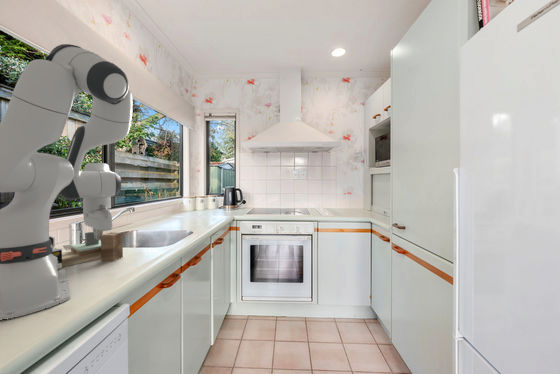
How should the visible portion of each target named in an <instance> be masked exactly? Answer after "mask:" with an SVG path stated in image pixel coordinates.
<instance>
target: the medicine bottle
mask: <svg viewBox="0 0 560 374" xmlns="http://www.w3.org/2000/svg"><path fill="white" fill-rule="evenodd" d="M55 238H56V237H55V236H52V235H49V239H51V243H52V253H51V254H52V255H54V256H56V257H57V264H58V263H61V264H62V253H63V250H62V248H55V247H56V244H55V243H56V241H55V240H56V239H55ZM58 269H60V268H58Z"/></svg>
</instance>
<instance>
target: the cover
mask: <svg viewBox="0 0 560 374" xmlns="http://www.w3.org/2000/svg"><path fill="white" fill-rule="evenodd" d="M71 248H73V249H75V250H77V251H79V252H82V251H87V250H92V249H98V248H101V240H96V239H94V233H93V231H90V232H84V243H76V244H71V245H70V249H71Z"/></svg>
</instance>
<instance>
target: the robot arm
mask: <svg viewBox="0 0 560 374" xmlns="http://www.w3.org/2000/svg"><path fill="white" fill-rule="evenodd" d="M82 92H83V93H85V94H88V95H90V96H91V97H92V106H91V112H90V113H91V114H90V117H89V119H88V120H87V122H86V123H85V124H84V125H81V126H78V127H77V128H76V130H75V132H74V133H73V135H72V138H71V141H70V143H69V147H68V150H67V152H66V157H62V156H58V155H55V154H52V153H51V154H50V153H47V152H46V153H45V152H38V151H39V150H40V149H42V148H43V147H46V146H48V145H52V144H53V143H56V142H57V141H59V140H60V138H61V137H62V135H63V132H64V129H65V126H66V124H67V121H68V119H69V115H70V113H71V110H72V106H73V103H74V100H75V98H76V97H77V96H78V95H79V94H80V93H82ZM132 116H133V95H132V92H131V91H130V89H129V80H128V77H127V75H126V73H125V72H124V71H123V70H122V68H120V67H119V66H117V65H116V64H115V63H113V62H110V61H109V60H107V59H105V58H103V57H102V56H100V55H99V54H97V53H95V52H93V51H91V50H87V49H85V48H82V47H81V46H78V45H75V44H70V43H62V44H59V45H57V46H55V47H54V48H53V49H52V50H51V51H50V52H49V53H48V55H47V56H45V58H44V59H33V60H31V61H30V62H28V64H27V65H26V66H25V68H24V69H23V71H22V73H21V74H20V76H19V78H18V79H17V82H16V84H15V87H14V89H13V91H12V95H11V97H10V100H9V103H8V105H7V109H6V111H5V113H4V115H3V118H2V119H1V121H0V193H14V195H13V196H14V197H13V198H12V200H11V201H10V202H9V204H8V205H6V206H4V207H2V208H1V209H0V320H1V319H7V318H11V319H15V318H19V317H22V316H26V315H30V314H33V313H37V312H39V311H43V310H45V308H46V309H49V308H51V307H54V306H56V305H57V306H58V305H59V303H60V304H63V303H64V302H66V301H68V300H69V299H71V293H70V287H69V282H68V279H66V278H67V274H66V273H67V270H66V269H62V268H63V267H62V264H61V263H58V264H57V257H56V256H54V255H52V254H51V253H52V243H51V239H49V236H50V214H51V210H52V207H53V204H54V202H55V200H56V199H57V197H58V196H60V197H62V198H64V199H66V200H68V201H70V200H71V201H72V200H80V199H82V202H81V204H80V206H81V208H82V209H83V210H82V215H83V221H84V225H85V226H87V227H90V228H92V232H93V233H94V239H96V240H99V241H100V240H101V235H103V233H104V232H105V231H106V232H107V231H111V230H112V228H113V219H112V218H113V217H112V216H113V215H112V211H111V210H110V209H111V208H112V197H114V196H117V195H118V194H119V193H120V192H121V190H122V177H121V176H120V175H119V174H118V173H116V172H114V171H111V169H110V166H109V165H108V164H107V163H106V162H105V163H104V162H89V163H86V164H85V165H84V169H83V170H81V167H82V164H83V162H84V159H85V155H86V154H87V153H88V152H89V151H90V150H92V149H94V148H98V147H101V146H105V145H110V144H111V145H112V144H115V143H118V142H121V141H122V140H123V139H125V138H126V137H127V136H128V134H129V132H130V128H131V124H132V123H131V122H132ZM58 268H59V269H61V270H58ZM14 317H15V318H14ZM7 320H8V319H7Z"/></svg>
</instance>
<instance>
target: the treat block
mask: <svg viewBox="0 0 560 374" xmlns="http://www.w3.org/2000/svg"><path fill="white" fill-rule="evenodd" d="M123 250H124V249H123V232H106V233H104V234H102V235H101V258H100V261H101V262H115V261H117V260H119V258H120V259H122V258H123V257H124V256H123V253H124V251H123ZM121 257H122V258H121ZM116 259H117V260H116ZM114 260H115V261H114Z"/></svg>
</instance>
